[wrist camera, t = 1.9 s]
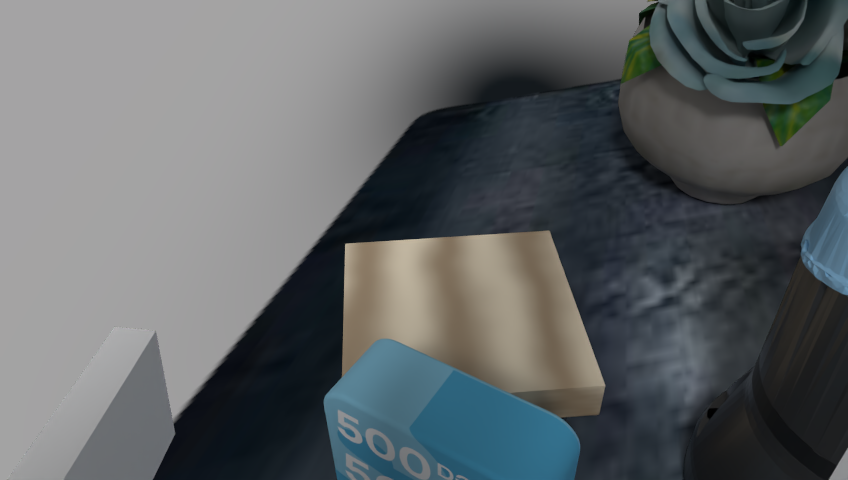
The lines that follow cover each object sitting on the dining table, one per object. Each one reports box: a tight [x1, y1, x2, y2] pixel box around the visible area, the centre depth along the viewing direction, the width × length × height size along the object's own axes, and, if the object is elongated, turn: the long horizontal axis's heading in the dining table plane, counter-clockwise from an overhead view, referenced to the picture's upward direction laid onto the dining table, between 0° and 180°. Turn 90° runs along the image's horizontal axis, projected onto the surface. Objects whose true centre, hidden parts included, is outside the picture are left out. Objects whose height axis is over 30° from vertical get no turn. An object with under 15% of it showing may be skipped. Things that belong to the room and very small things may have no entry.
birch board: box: [342, 231, 605, 418], centre depth 51 cm, size 17×16×3 cm
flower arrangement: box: [618, 0, 848, 205], centre depth 60 cm, size 25×25×24 cm
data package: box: [324, 339, 580, 480], centre depth 36 cm, size 12×4×12 cm, turn 58°
